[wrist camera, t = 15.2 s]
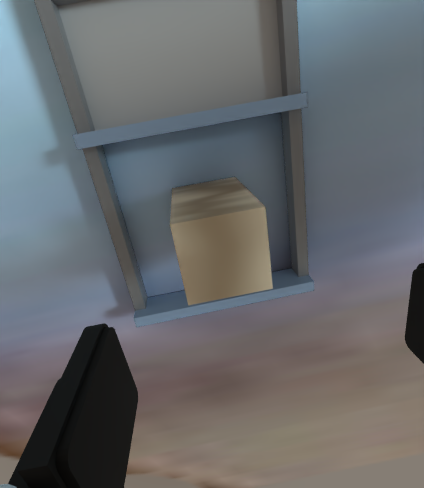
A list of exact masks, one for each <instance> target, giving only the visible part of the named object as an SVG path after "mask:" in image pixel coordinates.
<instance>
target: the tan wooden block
mask: <svg viewBox="0 0 424 488" xmlns="http://www.w3.org/2000/svg"><path fill="white" fill-rule="evenodd" d="M170 227H171V232H172V236H173V240H174V245H175V249H176V254H177V258H178V262H179V267H180V271H181V275H182V280H183V284H184V289H185V293H186V297H187V302H188V305H193V304H198V303H203V302H208V301H213V300H218V299H224V298H229V297H234V296H239V295H244V294H249V293H254V292H259V291H264V290H269V289H273V284H272V273H271V263H270V252H269V241H268V230H267V219H266V208H265V206H264V205H263V204H262V203H261V202H260V201H259V200H258V199H257V198H256V197H255V196H254V195H253V194H252V193H251V192H250V191H249V190H248V189H247V188H246V187H245V186H244V185H243V184H242V183H241V182H240V181H239V180H238V179H237V178H236V177H230V178H225V179H219V180H214V181H208V182H203V183H197V184H192V185H186V186H181V187H176V188H172V199H171V215H170Z"/></svg>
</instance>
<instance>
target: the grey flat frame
mask: <svg viewBox="0 0 424 488" xmlns="http://www.w3.org/2000/svg"><path fill="white" fill-rule="evenodd" d="M34 1H35V4H36V8H37V11H38V14H39V17H40V20H41V23H42V26H43V29H44V32H45V35H46V38H47V41H48V44H49V47H50V50H51V54H52V57H53V60H54V63H55V66H56V69H57V72H58V75H59V78H60V81H61V84H62V87H63V90H64V93H65V96H66V100H67V103H68V106H69V109H70V112H71V115H72V118H73V121H74V124H75V127H76V130H77V133H78V134H74V135H73V138H74V141H75V144H76V147H77V149H83V152H84V155H85V158H86V161H87V164H88V167H89V170H90V173H91V176H92V179H93V182H94V185H95V188H96V192H97V195H98V198H99V201H100V204H101V207H102V210H103V213H104V216H105V219H106V222H107V225H108V228H109V231H110V234H111V238H112V241H113V244H114V247H115V250H116V253H117V256H118V259H119V262H120V265H121V268H122V271H123V274H124V277H125V280H126V284H127V287H128V290H129V293H130V296H131V299H132V302H133V305H134V308H135V314H134V321H135V324H136V327H140V326H145V325H150V324H155V323H160V322H165V321H169V320H174V319H179V318H184V317H189V316H194V315H198V314H203V313H208V312H213V311H218V310H223V309H227V308H232V307H237V306H242V305H247V304H252V303H256V302H261V301H266V300H271V299H276V298H281V297H285V296H290V295H295V294H300V293H305V292H310V291H314V281H313V280H312V279H311V277H310V276H309V273H308V250H307V228H306V205H305V182H304V159H303V136H302V114H301V108H306V107H308V100H307V92H305V93H301V91H300V68H299V45H298V22H297V0H34ZM278 112H281V119H282V134H283V148H284V163H285V177H286V192H287V207H288V221H289V236H290V250H291V265H292V268H291V269H286V270H281V271H276V272H271V273H272V284H273V289H269V290H264V291H259V292H254V293H249V294H244V295H239V296H234V297H229V298H224V299H218V300H213V301H208V302H203V303H198V304H193V305H188V302H187V297H186V293H185V290H183V291H178V292H173V293H168V294H163V295H158V296H153V297H148V298H147V295H146V291H145V288H144V285H143V281H142V278H141V275H140V271H139V268H138V265H137V261H136V258H135V255H134V251H133V248H132V245H131V241H130V238H129V235H128V231H127V228H126V225H125V221H124V218H123V215H122V211H121V208H120V205H119V201H118V198H117V195H116V191H115V188H114V185H113V181H112V178H111V175H110V171H109V168H108V165H107V161H106V158H105V155H104V151H103V148H102V145H105V144H110V143H115V142H121V141H126V140H132V139H137V138H143V137H148V136H153V135H159V134H164V133H170V132H175V131H181V130H186V129H191V128H197V127H202V126H208V125H213V124H219V123H224V122H230V121H235V120H240V119H246V118H251V117H257V116H262V115H268V114H273V113H278Z"/></svg>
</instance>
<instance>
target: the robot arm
mask: <svg viewBox="0 0 424 488" xmlns="http://www.w3.org/2000/svg"><path fill="white" fill-rule="evenodd" d="M405 341H406V344H407V346H408V347H409V349H410V350H411V351H412V352H413V353H414V354H415V355H416V356H417V357H418V358H419V359H420V360H421V361H422V362H423V363H424V263H421V264H419V265H418V266H417V269H416V270H414V271H413V274H412V282H411V290H410V299H409V307H408V315H407V323H406V331H405ZM137 403H138V392H137V388H136V385H135V382H134V380H133V377H132V374H131V372H130V369H129V366H128V364H127V361H126V358H125V356H124V353H123V350H122V348H121V345H120V342H119V340H118V337H117V334H116V332H115V329H114V328H113V327H108V326H107V324H99V325H94V326H89V327H86V328H85V329H84V330H83V333H82V335H81V337H80V339H79V341H78V343H77V345H76V347H75V350H74V352H73V354H72V356H71V358H70V360H69V362H68V365H67V367H66V369H65V371H64V373H63V375H62V377H61V379H59V380H58V382H57V383H56V385H55V387H54V389H53V391H52V393H51V395H50V397H49V399H48V401H47V403H46V406H45V408H44V410H43V412H42V414H41V416H40V418H39V420H38V422H37V424H36V426H35V429H34V431H33V433H32V435H31V437H30V439H29V441H28V443H27V445H26V447H25V449H24V452H23V454H22V456H21V458H20V460H19V462H18V464H17V466H16V468H15V471H14V472H13V475H12V477H11V479H10V481H9V483H8V484H4V485H0V488H124V483H125V477H126V471H127V465H128V459H129V453H130V446H131V440H132V434H133V428H134V422H135V416H136V410H137Z"/></svg>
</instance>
